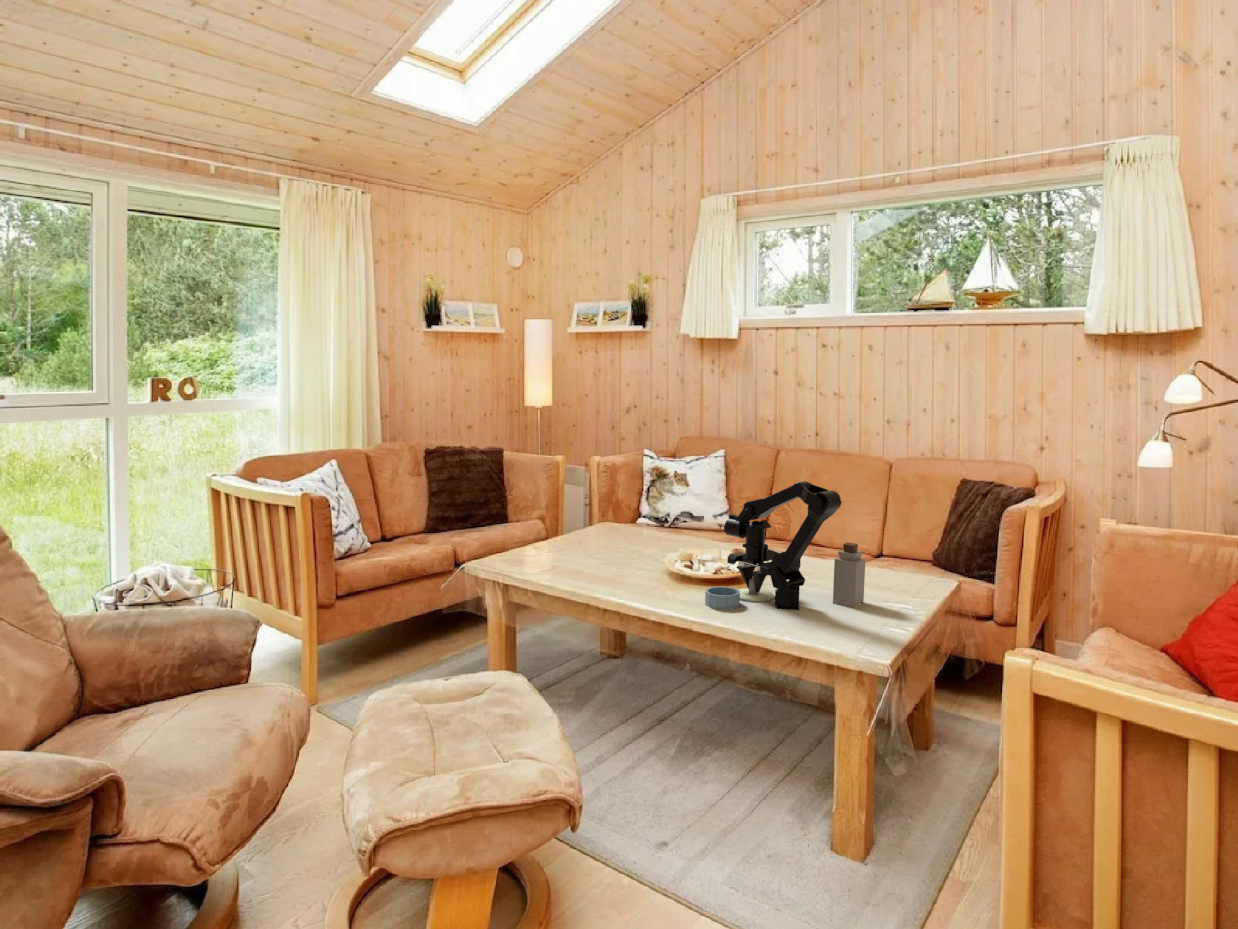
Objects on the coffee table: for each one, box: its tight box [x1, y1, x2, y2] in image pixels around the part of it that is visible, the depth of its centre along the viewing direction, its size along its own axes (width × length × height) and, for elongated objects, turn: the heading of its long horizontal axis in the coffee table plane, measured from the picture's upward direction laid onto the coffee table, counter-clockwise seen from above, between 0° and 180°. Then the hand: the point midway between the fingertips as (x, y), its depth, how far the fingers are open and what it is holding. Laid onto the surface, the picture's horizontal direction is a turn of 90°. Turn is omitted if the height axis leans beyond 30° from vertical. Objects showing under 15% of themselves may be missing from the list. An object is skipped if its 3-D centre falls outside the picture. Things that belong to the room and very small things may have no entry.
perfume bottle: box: [832, 542, 866, 608], centre depth 230 cm, size 7×7×18 cm
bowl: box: [704, 585, 741, 610], centre depth 228 cm, size 10×10×4 cm
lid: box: [737, 578, 775, 603], centre depth 236 cm, size 12×12×5 cm
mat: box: [740, 595, 775, 604], centre depth 236 cm, size 13×13×1 cm
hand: (753, 590), depth 236 cm, fingers closed on lid, 3 cm apart
